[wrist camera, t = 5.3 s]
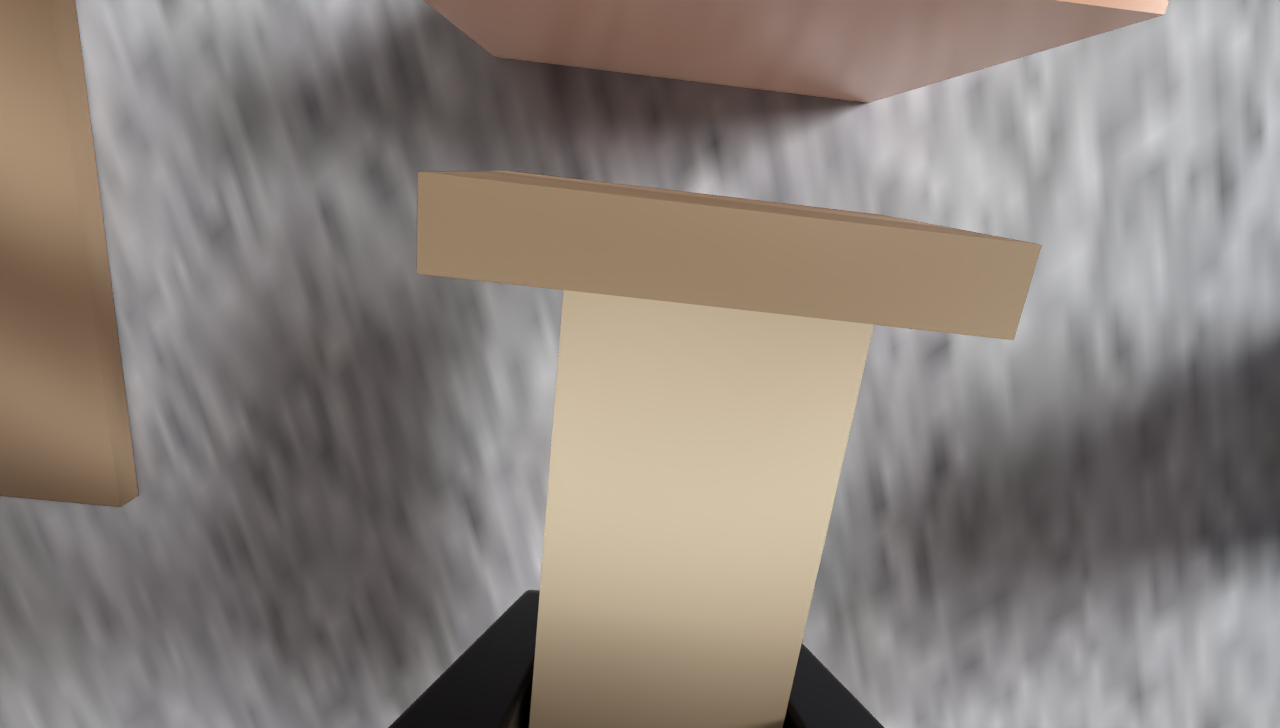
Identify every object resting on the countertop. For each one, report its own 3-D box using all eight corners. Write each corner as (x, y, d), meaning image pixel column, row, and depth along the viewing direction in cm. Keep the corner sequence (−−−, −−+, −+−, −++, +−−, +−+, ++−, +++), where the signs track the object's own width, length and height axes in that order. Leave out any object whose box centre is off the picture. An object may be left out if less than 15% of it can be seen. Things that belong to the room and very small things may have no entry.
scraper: (750, 816, 12) (795, 1079, 8) (475, 795, 11) (408, 1054, 8) (882, 214, 8) (1042, 244, 5) (506, 170, 8) (417, 171, 5)
